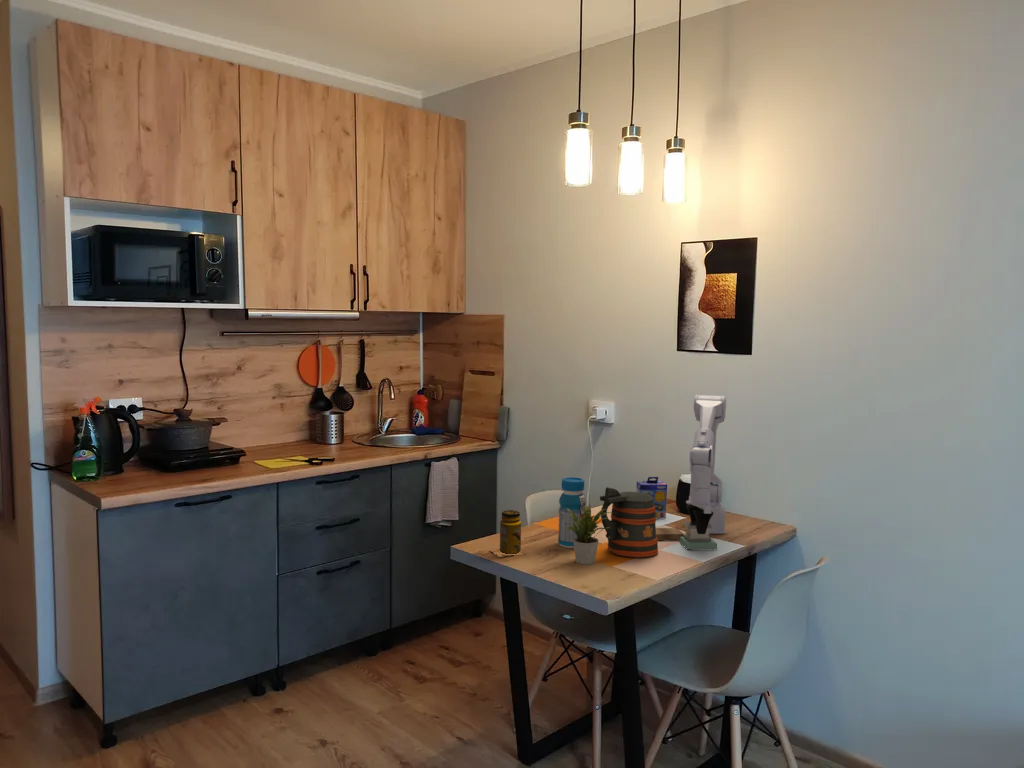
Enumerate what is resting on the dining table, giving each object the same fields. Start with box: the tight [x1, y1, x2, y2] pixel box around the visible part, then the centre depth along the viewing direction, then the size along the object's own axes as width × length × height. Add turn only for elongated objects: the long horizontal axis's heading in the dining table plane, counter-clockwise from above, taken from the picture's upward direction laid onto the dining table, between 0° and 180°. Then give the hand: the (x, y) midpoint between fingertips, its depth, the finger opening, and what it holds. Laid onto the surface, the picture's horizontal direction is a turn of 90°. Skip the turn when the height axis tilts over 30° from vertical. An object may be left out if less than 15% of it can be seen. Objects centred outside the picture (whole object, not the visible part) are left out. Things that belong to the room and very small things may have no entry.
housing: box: [683, 521, 712, 542], centre depth 223 cm, size 7×4×5 cm, turn 95°
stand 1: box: [656, 527, 685, 541], centre depth 233 cm, size 9×7×2 cm
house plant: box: [565, 504, 614, 566], centre depth 206 cm, size 14×14×16 cm
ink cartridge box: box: [635, 476, 668, 519], centre depth 258 cm, size 10×6×14 cm, turn 96°
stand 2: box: [679, 537, 718, 550], centre depth 224 cm, size 9×7×2 cm
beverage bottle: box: [557, 476, 587, 549], centre depth 223 cm, size 8×8×20 cm
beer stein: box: [599, 487, 659, 559], centre depth 216 cm, size 19×15×20 cm
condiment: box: [499, 509, 522, 554], centre depth 214 cm, size 7×8×12 cm
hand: (698, 531), depth 223 cm, fingers closed on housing, 4 cm apart
